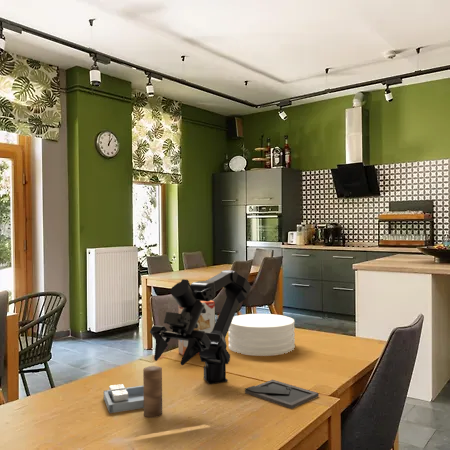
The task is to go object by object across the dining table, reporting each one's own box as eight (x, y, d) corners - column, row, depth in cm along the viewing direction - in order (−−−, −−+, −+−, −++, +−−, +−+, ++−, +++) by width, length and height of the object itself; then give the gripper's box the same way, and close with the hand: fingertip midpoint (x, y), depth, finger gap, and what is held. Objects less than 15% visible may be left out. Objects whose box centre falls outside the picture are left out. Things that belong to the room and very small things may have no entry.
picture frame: (244, 394, 146) (291, 410, 133) (244, 388, 146) (291, 403, 133) (272, 384, 155) (318, 398, 142) (272, 378, 155) (318, 391, 142)
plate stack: (215, 349, 197) (215, 322, 197) (250, 336, 220) (250, 311, 220) (274, 360, 181) (274, 330, 181) (305, 344, 204) (305, 317, 204)
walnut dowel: (159, 411, 132) (159, 365, 131) (164, 418, 127) (163, 370, 127) (142, 414, 130) (141, 367, 130) (145, 421, 125) (145, 372, 125)
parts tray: (150, 394, 145) (150, 384, 145) (159, 408, 134) (159, 397, 134) (103, 400, 140) (103, 390, 140) (109, 416, 129) (109, 405, 129)
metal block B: (126, 403, 136) (125, 389, 136) (128, 408, 132) (128, 393, 132) (111, 405, 135) (111, 391, 135) (114, 410, 131) (113, 395, 131)
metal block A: (123, 397, 141) (123, 383, 141) (125, 401, 137) (125, 388, 137) (109, 399, 139) (109, 385, 139) (111, 403, 135) (111, 390, 135)
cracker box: (183, 356, 186) (183, 303, 186) (178, 353, 191) (177, 301, 191) (215, 352, 192) (215, 300, 192) (209, 348, 198) (208, 298, 198)
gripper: (153, 298, 144) (129, 343, 134) (205, 303, 135) (183, 351, 125) (168, 320, 151) (147, 363, 141) (219, 325, 141) (199, 372, 132)
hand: (168, 362), depth 134 cm, fingers open, 9 cm apart
